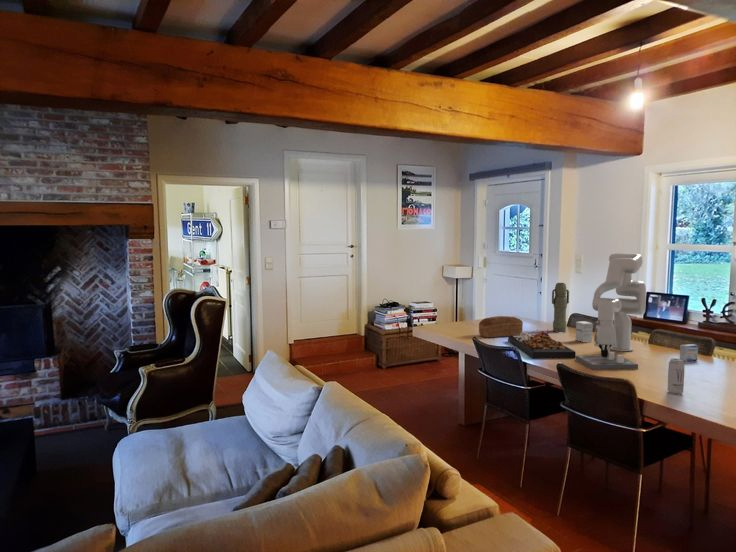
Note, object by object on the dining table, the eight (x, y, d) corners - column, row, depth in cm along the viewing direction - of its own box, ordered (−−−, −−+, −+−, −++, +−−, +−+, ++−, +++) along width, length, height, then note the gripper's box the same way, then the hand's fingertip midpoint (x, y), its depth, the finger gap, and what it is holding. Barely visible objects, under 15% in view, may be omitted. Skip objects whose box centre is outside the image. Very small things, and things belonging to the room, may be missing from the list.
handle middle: (607, 359, 273) (607, 351, 272) (612, 358, 273) (612, 351, 272) (608, 359, 271) (608, 352, 271) (614, 359, 271) (614, 352, 271)
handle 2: (616, 362, 266) (616, 354, 265) (622, 362, 266) (622, 354, 266) (618, 363, 264) (618, 355, 264) (623, 363, 264) (624, 355, 264)
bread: (525, 336, 347) (525, 317, 346) (484, 338, 339) (484, 319, 338) (515, 333, 358) (516, 314, 357) (476, 335, 351) (476, 316, 349)
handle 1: (603, 355, 280) (603, 348, 279) (608, 355, 280) (608, 348, 280) (604, 356, 278) (604, 349, 278) (609, 356, 278) (610, 349, 278)
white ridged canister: (575, 340, 332) (575, 321, 331) (584, 339, 334) (585, 321, 333) (582, 342, 325) (583, 323, 324) (592, 342, 327) (593, 322, 326)
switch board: (575, 360, 282) (575, 355, 281) (617, 359, 283) (617, 354, 282) (592, 369, 262) (593, 364, 261) (638, 369, 263) (638, 364, 262)
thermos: (570, 332, 359) (572, 283, 356) (555, 333, 357) (556, 283, 354) (563, 330, 368) (565, 282, 365) (548, 330, 366) (550, 282, 363)
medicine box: (686, 361, 277) (686, 346, 276) (679, 359, 281) (679, 344, 280) (697, 360, 279) (698, 345, 278) (690, 358, 283) (691, 343, 282)
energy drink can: (674, 395, 220) (676, 361, 219) (664, 391, 226) (665, 358, 225) (686, 394, 221) (688, 361, 220) (675, 390, 227) (677, 357, 226)
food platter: (508, 342, 330) (508, 326, 329) (545, 342, 331) (545, 326, 330) (532, 359, 285) (532, 341, 284) (575, 359, 286) (575, 341, 285)
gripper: (595, 324, 266) (593, 358, 268) (622, 324, 267) (621, 358, 268) (588, 322, 274) (587, 355, 275) (615, 321, 274) (614, 354, 276)
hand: (604, 356), depth 272 cm, fingers closed
